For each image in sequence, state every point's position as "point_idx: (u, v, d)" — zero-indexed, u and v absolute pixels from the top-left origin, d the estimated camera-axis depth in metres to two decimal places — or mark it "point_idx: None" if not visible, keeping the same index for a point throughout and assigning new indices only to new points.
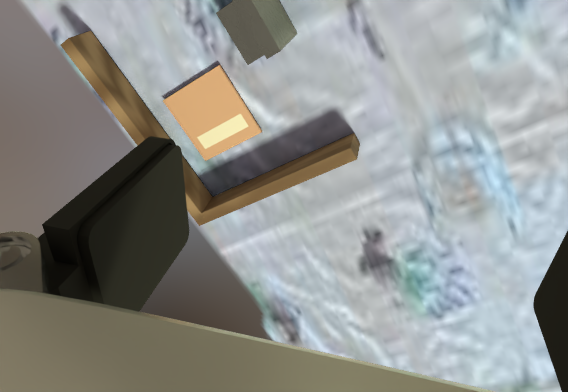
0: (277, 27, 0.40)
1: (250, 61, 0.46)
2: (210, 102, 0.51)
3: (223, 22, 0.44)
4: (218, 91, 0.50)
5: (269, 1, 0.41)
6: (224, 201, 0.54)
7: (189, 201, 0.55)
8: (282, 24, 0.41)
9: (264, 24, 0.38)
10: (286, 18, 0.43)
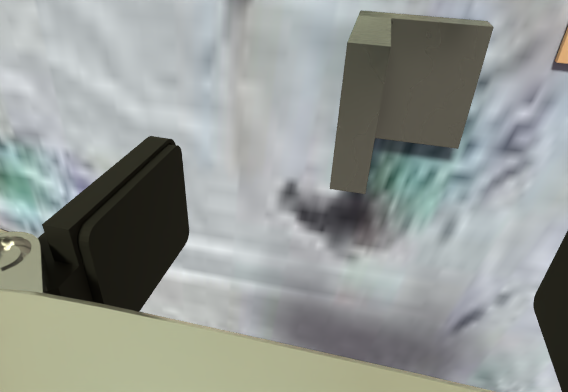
0: None
1: (481, 29, 0.19)
2: None
3: (460, 127, 0.22)
4: None
5: None
6: None
7: None
8: None
9: (340, 113, 0.16)
10: None
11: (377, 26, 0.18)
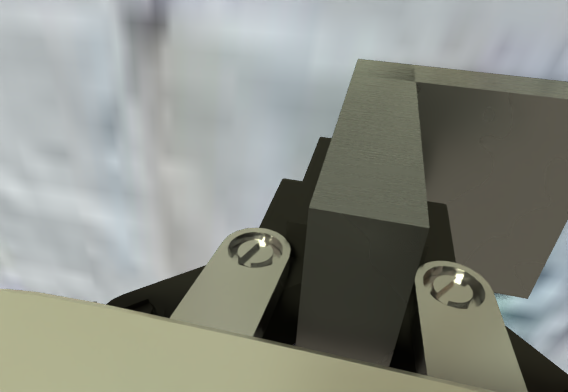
0: None
1: None
2: None
3: (536, 269, 0.12)
4: None
5: None
6: None
7: None
8: None
9: (300, 341, 0.07)
10: None
11: (389, 116, 0.08)
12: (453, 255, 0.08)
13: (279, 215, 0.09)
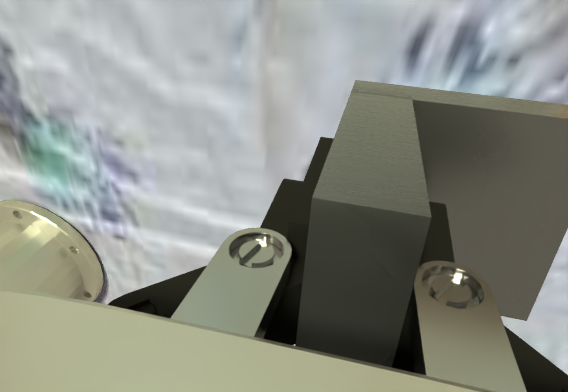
0: None
1: None
2: None
3: (534, 289, 0.12)
4: None
5: None
6: None
7: None
8: None
9: (300, 344, 0.07)
10: None
11: (388, 125, 0.08)
12: (452, 255, 0.08)
13: (280, 215, 0.09)
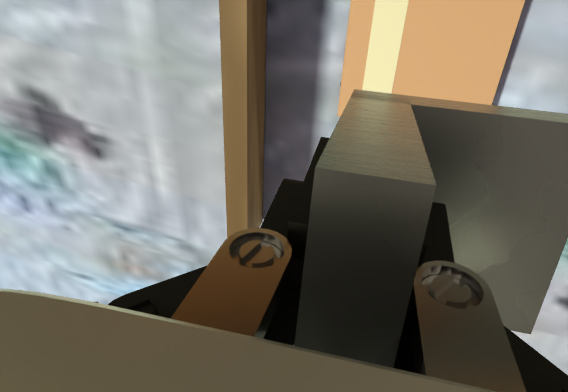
0: None
1: None
2: (445, 72, 0.25)
3: (537, 300, 0.12)
4: None
5: None
6: None
7: None
8: None
9: (301, 331, 0.06)
10: None
11: (388, 121, 0.09)
12: (452, 255, 0.08)
13: (280, 215, 0.09)
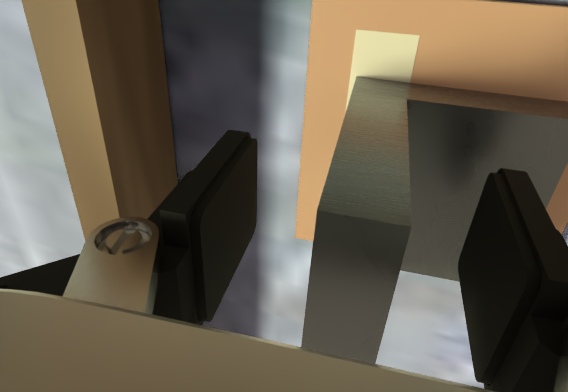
0: None
1: (563, 124, 0.11)
2: None
3: None
4: None
5: None
6: (94, 29, 0.11)
7: None
8: None
9: (308, 320, 0.08)
10: None
11: (383, 131, 0.10)
12: None
13: None
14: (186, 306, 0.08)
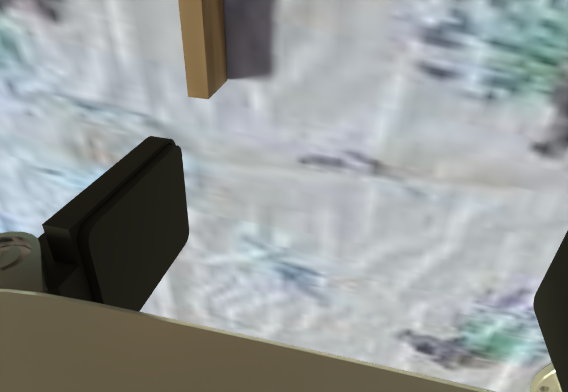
0: None
1: None
2: None
3: None
4: None
5: None
6: None
7: None
8: None
9: None
10: None
11: None
12: None
13: None
14: None
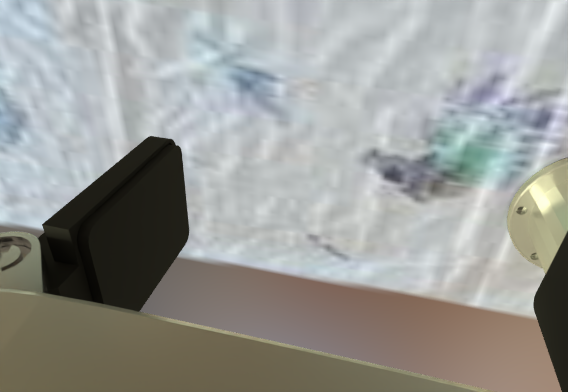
0: None
1: None
2: None
3: None
4: None
5: None
6: None
7: None
8: None
9: None
10: None
11: None
12: None
13: None
14: None
